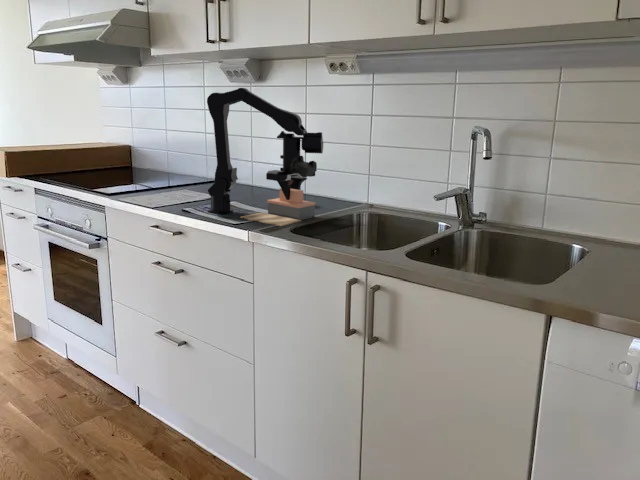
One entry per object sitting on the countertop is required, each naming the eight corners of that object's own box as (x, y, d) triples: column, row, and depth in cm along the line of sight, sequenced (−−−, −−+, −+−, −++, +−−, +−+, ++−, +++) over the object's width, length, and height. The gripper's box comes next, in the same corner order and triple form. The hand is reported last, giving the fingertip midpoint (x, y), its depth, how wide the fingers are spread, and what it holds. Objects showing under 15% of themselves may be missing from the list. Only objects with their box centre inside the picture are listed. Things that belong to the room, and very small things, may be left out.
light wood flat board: (240, 217, 182) (240, 216, 182) (261, 213, 190) (261, 212, 189) (280, 226, 171) (280, 225, 171) (301, 221, 179) (301, 220, 179)
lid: (267, 205, 188) (267, 188, 187) (283, 202, 195) (283, 185, 193) (299, 211, 180) (299, 193, 178) (315, 207, 186) (315, 190, 185)
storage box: (268, 213, 189) (268, 202, 188) (283, 210, 195) (283, 199, 194) (298, 220, 181) (299, 208, 180) (314, 216, 187) (314, 204, 186)
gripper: (291, 156, 171) (290, 206, 175) (328, 152, 185) (327, 198, 189) (265, 153, 177) (265, 201, 181) (302, 150, 192) (302, 194, 195)
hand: (291, 199), depth 187 cm, fingers closed on lid, 3 cm apart
